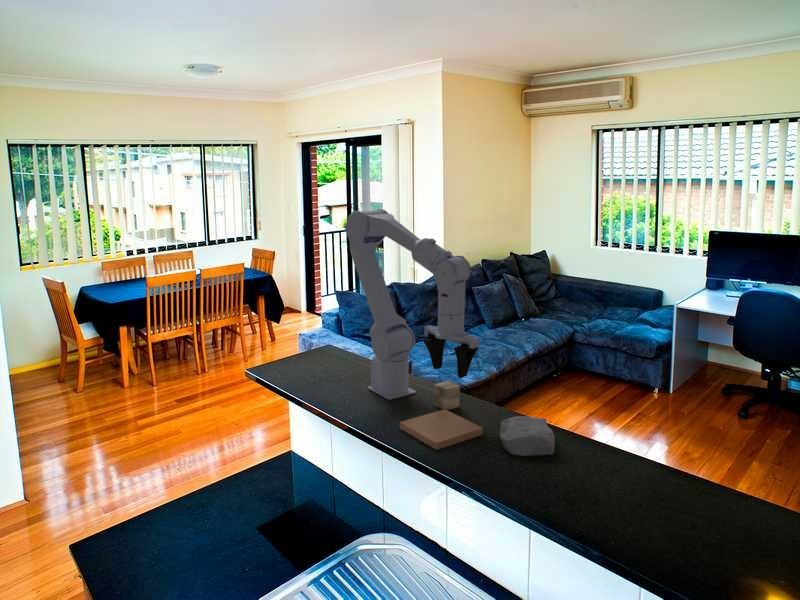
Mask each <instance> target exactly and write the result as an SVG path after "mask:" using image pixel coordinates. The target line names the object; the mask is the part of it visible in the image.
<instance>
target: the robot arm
mask: <svg viewBox="0 0 800 600" xmlns="http://www.w3.org/2000/svg"><path fill="white" fill-rule="evenodd" d="M345 222H346V223H345V225H344V230H345V233H346V236H347V238H348V241H349V251H350V255H351V258H352V261H353V264H354V267H355V270H356V273H357V275H358V279H359V281H360V284H361V287H362V290H363V293H364V294H365V297H366V300H367V304H368V307H369V310H370V314H371V315H372V318H373V320H374V323H373V324H372V326H371V328H370V329H369V335H370V339H371V340H370V341H371V350H372V352H373V353H374V356H373V357H372V359H371V362H370V385H369V386H367V389H368V390H369V391H372V392H373V393H375V394H378V395H379V396H381V397H383V398H384V399H387V400H389V401H390V400H394V399H398V398H402V397H407V396H410V395H414V394H416V393H417V391H416V390H414V389H412V388H410V387H409V357H410V355H411V350H412V349H413V348H414V346H415V344H416V337H415V334H414V332H413V330H412V329H411V328H410V327H409V326H408V324H407V323H408V322H407V320H406V319H405V318H403V317H402V316H400V315H399V314H398V313H397V312H396V309H395V306H394V303H393V300H392V298H391V295H390V292H389V289H388V286H387V283H386V281H385V277H384V275H383V272H382V269H381V267H380V263H379V261H378V259H377V255H376V251H377V248H378V246H379V245H380V244H382V242H383V241H384V239H385V238H388V239H390V240H392V241H393V242H395V243H396V244H398V245H399V246H401V247H402V248H404V249H406V250H408V251H409V252H411V258H412V260H413V261H414V262H416V263H417V264H419V265H420V266H421V267H422V268H424V269H426V270H427V271H428V272H430V273H431V274H432V275H433V279H434V281H435V282H436V285H437V286H436V287H437V292H438V293H437V295H438V296H437V297H438V300H437V304H438V305H437V325H436V326H435V325H432V324H431V325H426V326H424V328H423V329H424V332H423V333H424V334H423V335H425V336H427V337H425V338H423V343H424V345H425V346H426V349H427V351H428V353H429V357H430V360H431V365H432V369H433V370H438V369H441V368H442V367H443V359H444V351H445V344H446V343H447V342H446V341H449V342H452V343H455V344H458V346H456V347H454V348H453V350H454V353H455V357H456V363H457V365H456V367H457V377H458V379H459V378H460V379H462V378H466V377H467V375H468V372H469V369H470V365H471V363H472V360H473V358H474V356H475V355H476V353H477V351H478V350H479V341H480V338H479V337H476V336H473V335H471V334H469V333H468V332H465V328H464V327H465V311H466V310H465V305H466V303H465V302H466V281H468V280H469V278H470V276H471V272H472V269H471V265H470V262H469V261H468V260H467V259H466V258H465V257H464V256H463V255H453V252H451V251H450V250H446V249H444V248H443V247H441V246H440V245H439V244H437V243H436V242H437V240H436V239H434V238H428V237H425V238H422V239H420V237H418V236H417V235H416V234H414V233H413V232H411V231H410V230H409V229H408V228H407V227H405V226H404V225H403V224H402V223H400V222H399V221H397V219H396V218H395V216H394V215H393V214H392V213H389V212H388V211H386V209H383V208H382V209H381V208H380V209H379V208H378V209H374V210H373V209H372V210H354V211H352V212H351V213H349V215H348V217H347V220H346V221H345Z"/></svg>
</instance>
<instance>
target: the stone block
mask: <svg viewBox="0 0 800 600" xmlns="http://www.w3.org/2000/svg"><path fill="white" fill-rule="evenodd" d="M499 438H500V440H501V441H500V442H501V444H502V447H503V449H505V450H506V451H507V452H508V453H509V454H510V455H513V456H521V457H522V456H523V457H524V456H525V457H526V456H553V455H554V454H555V446H556V437H555V435H554V432H553V430H552V429H551V427H549V425H548V424H547V420H546V418H545V417H541V418H539V417H532V416H527V415H526V416H525V415H524V416H523V415H522V416H521V415H520V416H519V415H517V416H513V417H510V418H509V417H508V418H506V419H504V420H503V419H502V421H500V430H499Z"/></svg>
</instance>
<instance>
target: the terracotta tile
mask: <svg viewBox="0 0 800 600" xmlns="http://www.w3.org/2000/svg"><path fill="white" fill-rule="evenodd" d="M401 429H402V430H401ZM399 430H401V431H403V430H404V431H405V432H404V431H403V432H404V433H406V432H407V433H406V434H408V435H409V434H410V435H409V436H411V435H412V436H411V437H413V436H414V437H413V438H415V439H416V438H417V440H418V439H419V440H418V441H420V442H421V441H422V442H421V443H423V442H424V443H423V444H425V445H427V446H428V445H429V447H430V446H431V447H430V448H432V449H433V448H434V449H433V450H435V449H436V451H437V449H438V450H441V449H445V448H448V447H449V446H452V445H457V444H459V443H462V442H464V441H467V440H471V439H473V438H477V437H480V436H483V433H484V431H483V430H484V428H483V427H482V426H480V425H478V424H475V423H474V422H472V421H469V419H468V420H467V419H466V418H464V417H461V416H459V415H457V414H455V413H453V412H451V411H449V410H445V409H444V410H443V409H440V410H437V411H435V412H431V413H427V414H424V415H423V414H422V415H419V416H416V417H413V418H409V419H406V420H402V421H400V422H399Z"/></svg>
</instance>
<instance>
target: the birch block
mask: <svg viewBox="0 0 800 600" xmlns="http://www.w3.org/2000/svg"><path fill="white" fill-rule="evenodd" d="M460 388H461V385H459V384H457V383H454V382H452V381H449V380H447V381H443V382H440V383H435V384H434V400H433V401H434V406H435V407H437V408H440V410H444V409H445V410H447V411H449V410H452V409H456V408H459V407H460V395H461V393H460V392H461V391H460V390H461V389H460Z"/></svg>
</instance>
